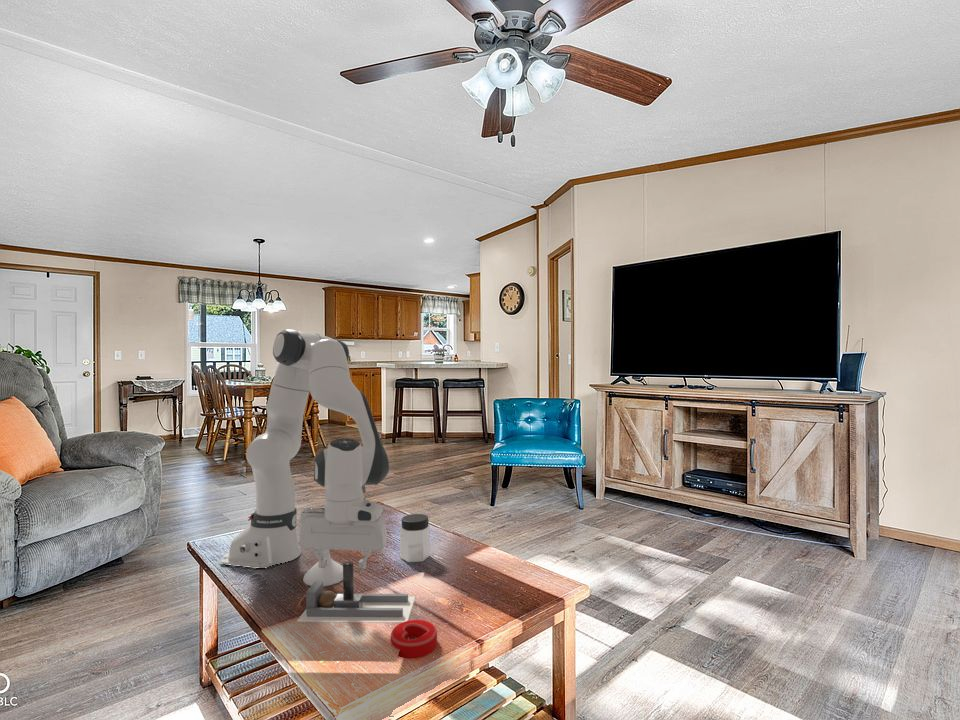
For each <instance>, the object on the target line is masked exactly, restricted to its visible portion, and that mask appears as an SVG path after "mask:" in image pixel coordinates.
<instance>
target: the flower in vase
mask: <svg viewBox="0 0 960 720" xmlns="http://www.w3.org/2000/svg"><path fill="white" fill-rule="evenodd" d="M321 552H322V554H323V556H324V558H328V560H327V566H326V567H325V568H319V561H318V560H317V562H316V563H315V564H314V565H313V566H312V567H311V568H309V570H307V571H306V573H304V576H303V579H302V580H303V583H304V584H305V585H306V586H310V587H311V586H312V585H313V584H314V582H323V587H329V586H333V585H336V584H339V583H341V582H343V565H341V564H340V563H338V562H337V561H335V560H334V559H332V557H331V554H330V550H325V549H323V550H322V551H321Z"/></svg>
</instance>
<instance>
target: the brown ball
mask: <svg viewBox="0 0 960 720" xmlns="http://www.w3.org/2000/svg"><path fill="white" fill-rule="evenodd" d="M335 594H336V593H335V592H334V591H332V590H325V591H324V590H323V593H322V594H321V595H320V597H319V605H320V606H321V607H322V608H332V607H333V606H334V599H335V598H336V595H335Z"/></svg>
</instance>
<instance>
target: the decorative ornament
mask: <svg viewBox="0 0 960 720" xmlns="http://www.w3.org/2000/svg"><path fill="white" fill-rule="evenodd" d="M410 638H414V639H410ZM390 644H391V645H392V647H394V648H395V649H397V650H399V651H398V654H397V657H399V658H401V659H408V660H412V659H413V660H414V659H420V658H423V657H425V656H426V657H427V656H428V655H430V654H432V653H433V652H434V651H435V650H436V648H437V647H438V646H437V645H438V630H437V628H436V626H435V625H434V624H433V623H431V622H430V621H427V620H424V619H410V620H409V619H408V621H405V622H399V624H397V625H395V626H394V627H393V629H392V631H391V633H390Z"/></svg>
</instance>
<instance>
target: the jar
mask: <svg viewBox="0 0 960 720" xmlns="http://www.w3.org/2000/svg"><path fill="white" fill-rule="evenodd" d="M429 523H430V522H429V517H428V515H425V514H423V513H410V514H407V515H404V516H403V517H401V526H400V527H399V531H400V532H399V533H400V534H399V535H400V537H399V540H400V543H399V544H400V545H399V548H400V549H399V550H400V553H399V554H400V555H399V556H400V558H401V559H402V560H404V561H405V562H407V563H420V562H424V561H425V560H427V559H428V558H430V556H431V539H430V537H431V535H430V534H431V527H430V525H429Z"/></svg>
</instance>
